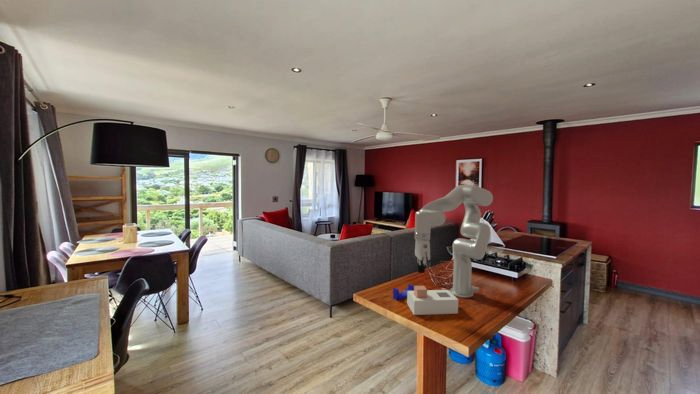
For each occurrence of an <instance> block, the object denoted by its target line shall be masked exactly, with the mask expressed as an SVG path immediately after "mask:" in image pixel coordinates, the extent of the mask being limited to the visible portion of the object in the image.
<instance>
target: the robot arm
mask: <svg viewBox="0 0 700 394" xmlns="http://www.w3.org/2000/svg"><path fill="white" fill-rule="evenodd" d="M493 200H494V196H493V194H492V192H491V191H489V190H488V189H485V188H483V187H480V186H477V185H474V184H473V185H472V184H471V185H468V184H461V185H457V186H456V187H454V188H453V189H452V190H451V191H450V192H448V193H447V194H446V195H445V196H444V197H440V198H438V199H436V200H433V201H429V202H428V203H427V204H425V205H423V207H422V208H421V209H419V210H418V211H416V212H415V215H414V216H415V217H414V218H415V219H414V220H415V221H414V240H415V244H414V255H415V257H416V258H417V269H416V270H417V273H418V274H419V273H420V274H425V271H426V268H425V267H426V264H427V261H430V260H431V243H430V241H431V227H432V226H433V227H434V226H436V227H437V226H442V225H444V223H445V222H446V214H445V212H451V211H454V210H456V209H457V208H458V207H459V206H461V204H463V205H464V209H465V213H464V215H463V216H464V217H463V220H462V223H461V226H460V231H459V232H460V234H461V236H462V237H465V238H462V237H461V238H460V237H459V238H456V239H454V240H453V242H452V253H453V274H452V275H453V276H452V280H453V281H452V287H451V288H450V289H449V291H450V292H451V293H452V294H453V295H454V296H455V297H458V298H463V299H464V298H472V297H473V296H474V291H477V292H478V291H480V287H479V286H475V285H472V268H473V266H472V261H471V259H473V260H482V259H483V258H484V256H485V254H486V252H487V249H488V245H489V241H490V238H491V235H492V232H491V231H492V230H491V228H490V225H488V224H487V223H483V222H481V217H482V213H481V209H480V208H479V207H481V206H482V207H488V206H490V205H491V204H492V203H493ZM467 238H469V239H467ZM472 239H474V240H472Z"/></svg>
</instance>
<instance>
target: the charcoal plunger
mask: <svg viewBox="0 0 700 394" xmlns="http://www.w3.org/2000/svg"><path fill="white" fill-rule="evenodd" d="M437 294H438V295H439V296H440V297H450V296H449V295H448V294H447V293H437Z"/></svg>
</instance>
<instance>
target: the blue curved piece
mask: <svg viewBox="0 0 700 394" xmlns="http://www.w3.org/2000/svg"><path fill="white" fill-rule="evenodd" d="M414 286H415V285H413V284H411V283H410V284H408V286H407V288H405V289H404V290H403V291H401V292H400V290H399V288H397V287H393V289H392V299H393V300H395V301H399V300H403V299H407V291H414Z"/></svg>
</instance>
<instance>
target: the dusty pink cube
mask: <svg viewBox="0 0 700 394" xmlns="http://www.w3.org/2000/svg"><path fill="white" fill-rule="evenodd" d="M413 286H414V295H415V296H416V298H427V290H428V289H427V287H426V286H425V285H413Z"/></svg>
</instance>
